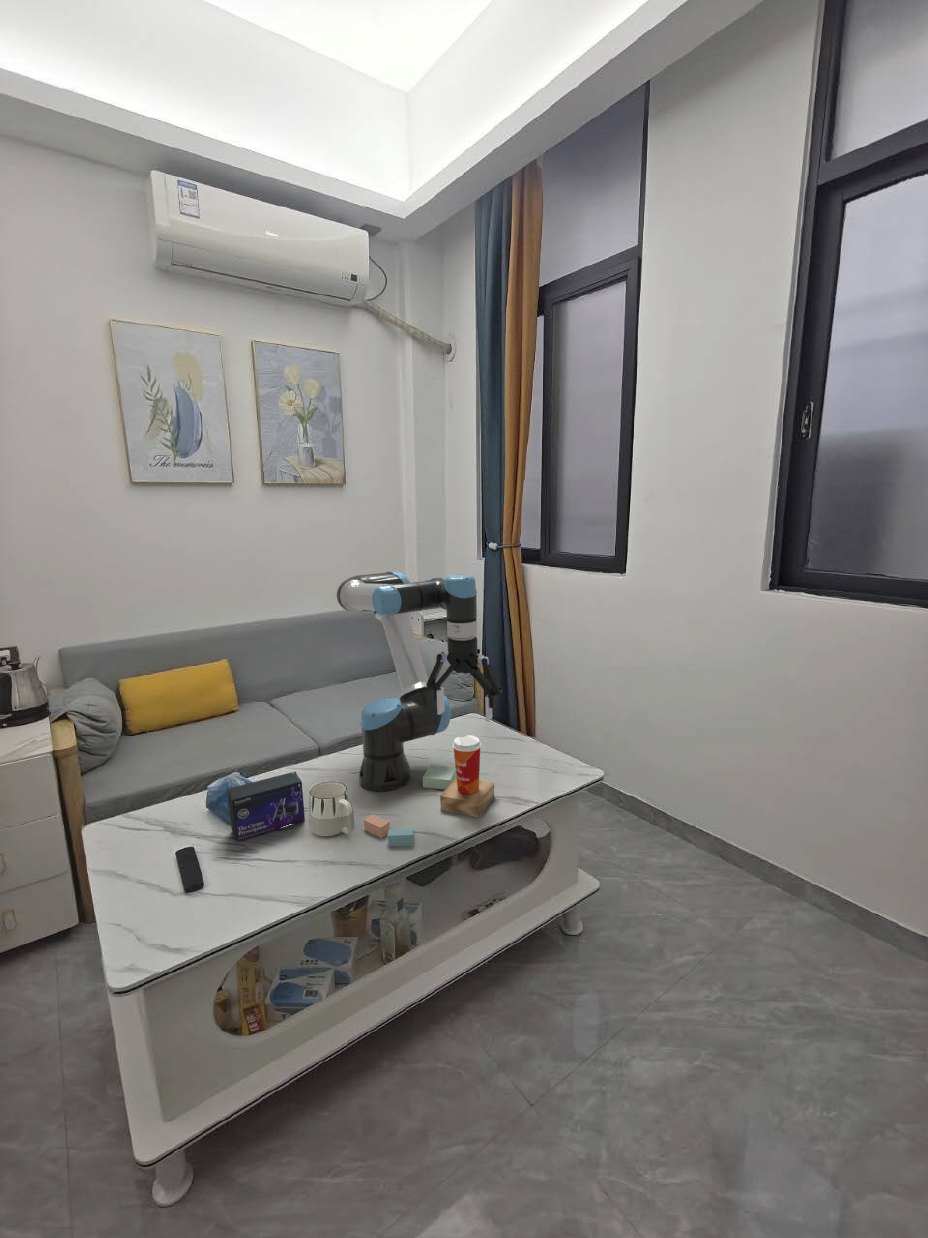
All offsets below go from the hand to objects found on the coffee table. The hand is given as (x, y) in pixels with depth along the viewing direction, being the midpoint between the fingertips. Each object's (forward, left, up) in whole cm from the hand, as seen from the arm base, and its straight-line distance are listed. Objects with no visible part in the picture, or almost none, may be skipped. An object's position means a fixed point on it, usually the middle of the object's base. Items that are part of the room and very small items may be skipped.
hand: (464, 716), depth 150 cm
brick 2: (-8, -22, -25) cm, 34 cm away
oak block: (0, 0, -25) cm, 25 cm away
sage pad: (-12, +8, -25) cm, 29 cm away
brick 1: (-16, -20, -25) cm, 36 cm away
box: (-43, -28, -25) cm, 57 cm away
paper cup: (0, 0, -21) cm, 21 cm away
